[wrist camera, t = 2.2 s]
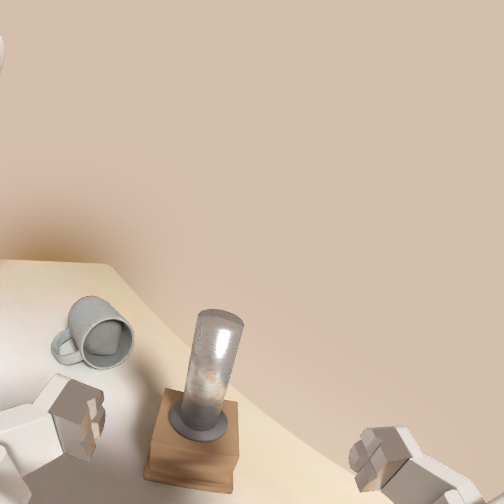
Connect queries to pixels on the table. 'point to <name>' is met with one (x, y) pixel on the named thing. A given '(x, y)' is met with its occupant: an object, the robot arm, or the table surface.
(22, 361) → the table surface
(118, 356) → the ceramic mug
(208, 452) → the walnut stand
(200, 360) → the brushed metal cylinder
